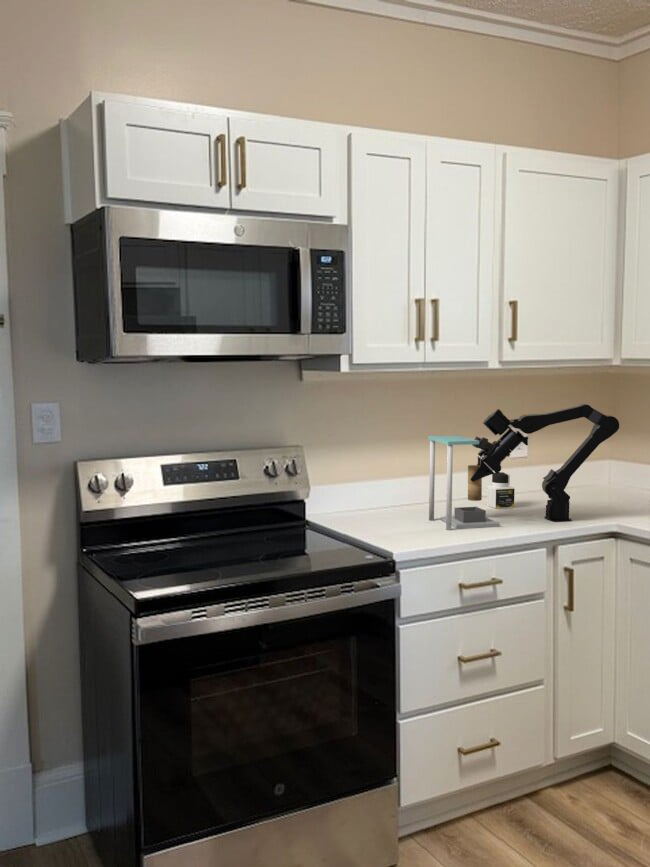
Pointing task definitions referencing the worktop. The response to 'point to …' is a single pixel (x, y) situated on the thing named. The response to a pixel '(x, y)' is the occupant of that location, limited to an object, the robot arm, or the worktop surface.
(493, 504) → the medicine bottle
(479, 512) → the awning socket
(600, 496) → the worktop surface
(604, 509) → the worktop surface
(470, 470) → the tan domed cylinder
